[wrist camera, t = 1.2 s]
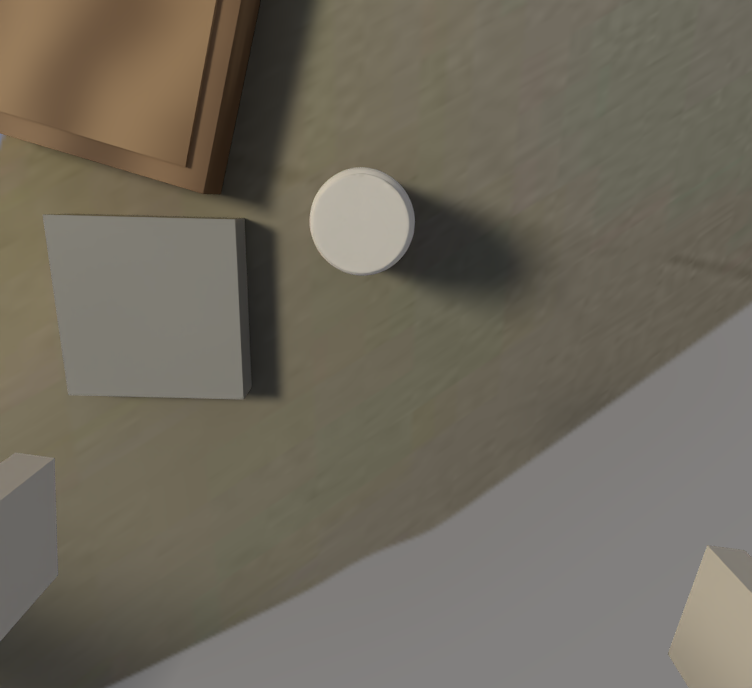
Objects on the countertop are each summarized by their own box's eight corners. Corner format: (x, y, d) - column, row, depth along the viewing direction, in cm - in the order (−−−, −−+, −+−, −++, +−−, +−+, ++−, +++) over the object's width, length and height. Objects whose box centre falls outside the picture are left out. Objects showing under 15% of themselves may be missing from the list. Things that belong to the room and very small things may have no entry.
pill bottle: (400, 267, 30) (408, 292, 22) (317, 254, 30) (294, 275, 22) (414, 180, 29) (428, 173, 20) (328, 167, 28) (307, 154, 20)
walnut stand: (0, 128, 28) (-48, 119, 25) (24, -132, 25) (-27, -180, 22) (220, 194, 29) (201, 193, 26) (270, -50, 26) (255, -85, 23)
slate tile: (87, 383, 32) (68, 395, 30) (64, 213, 29) (42, 214, 27) (251, 387, 32) (243, 399, 30) (244, 218, 29) (235, 219, 27)
